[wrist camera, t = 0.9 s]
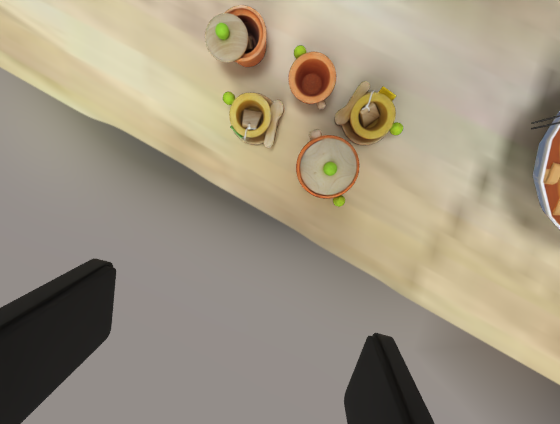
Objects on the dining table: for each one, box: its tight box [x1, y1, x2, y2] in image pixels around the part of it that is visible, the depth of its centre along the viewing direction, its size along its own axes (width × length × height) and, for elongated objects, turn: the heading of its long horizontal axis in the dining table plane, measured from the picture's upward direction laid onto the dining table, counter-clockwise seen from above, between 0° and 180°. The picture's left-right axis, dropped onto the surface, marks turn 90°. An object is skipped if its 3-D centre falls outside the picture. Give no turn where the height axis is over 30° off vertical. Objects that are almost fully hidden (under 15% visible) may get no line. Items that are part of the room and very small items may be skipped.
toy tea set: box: [205, 5, 403, 207], centre depth 31 cm, size 26×16×10 cm, turn 59°
